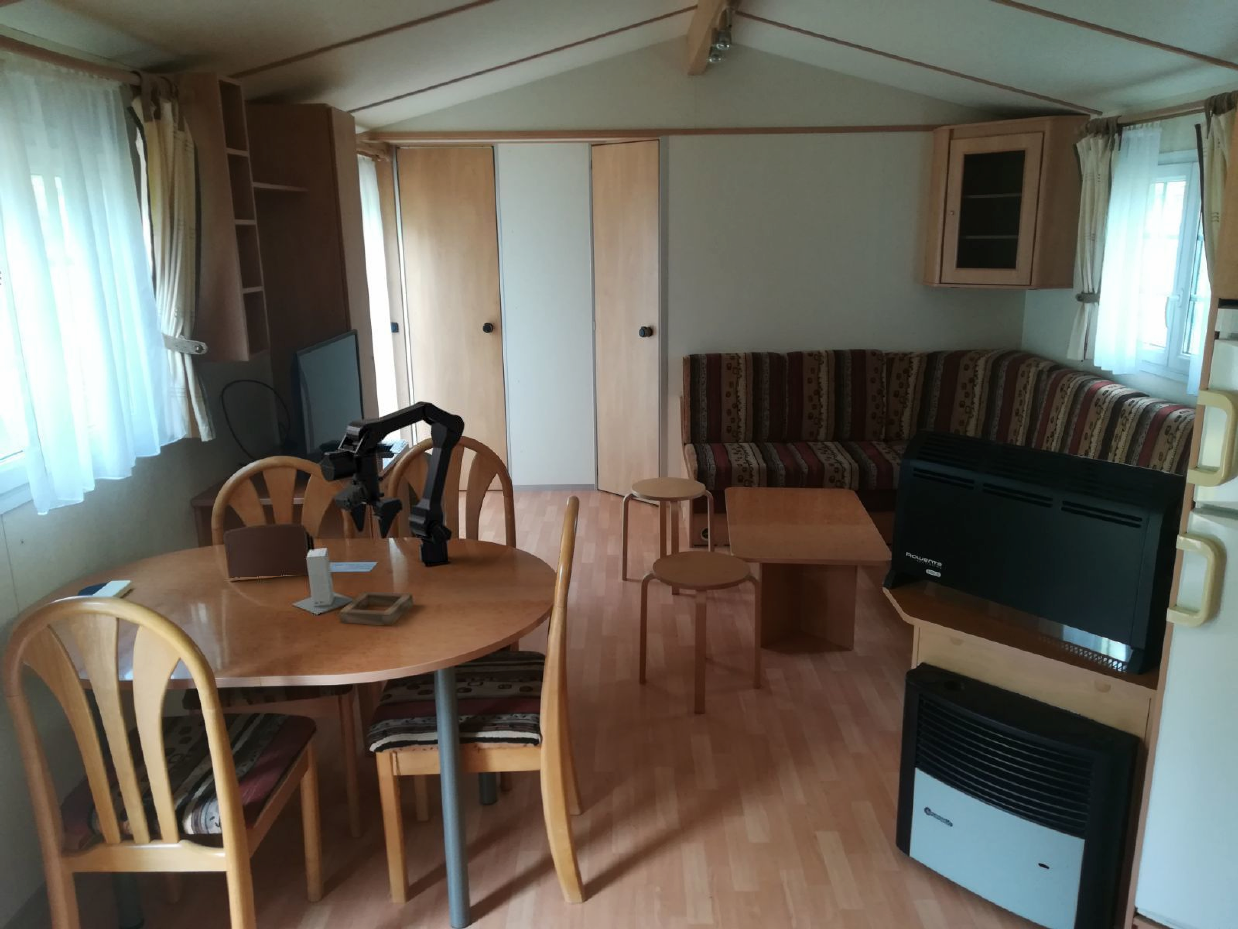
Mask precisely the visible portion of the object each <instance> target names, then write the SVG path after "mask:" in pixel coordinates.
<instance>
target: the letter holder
mask: <svg viewBox="0 0 1238 929" xmlns="http://www.w3.org/2000/svg"><path fill="white" fill-rule="evenodd" d="M223 542H224V543H223V544H224V550H225V557H226V558H225V559H226V566H227V573H228V579H229V578H235V577H238V578H240V577H257V576H258V577H259V576H281V575H282V576H283V575H303V576H309V573H308V567H307V559H306V558H307V555H308V553H309V551H310V550H312V549H315V542H314V537H313V535H311V534H310V533H309V532H308V531H307V527H306V526H305V525H303V524H294V523H293V524H291V523H289V524H288V523H278V524H277V523H273V524H259V525H250V526H245V527H238V528H234V529H230V530H226V531H225V532H224V533H223Z"/></svg>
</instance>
